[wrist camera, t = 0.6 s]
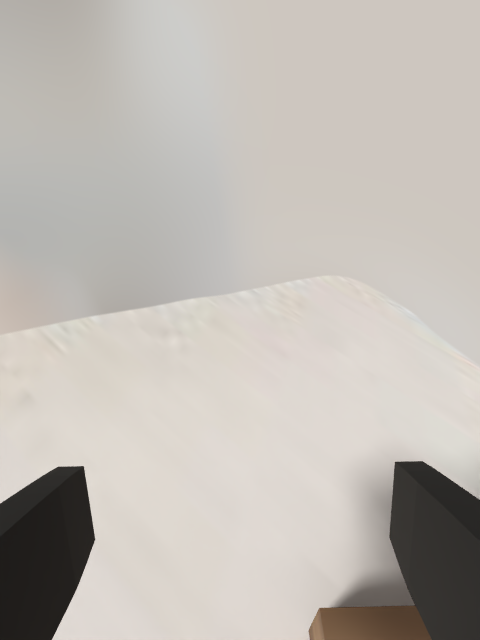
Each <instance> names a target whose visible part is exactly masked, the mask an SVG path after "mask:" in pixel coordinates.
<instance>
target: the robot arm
mask: <svg viewBox="0 0 480 640" xmlns="http://www.w3.org/2000/svg"><path fill="white" fill-rule="evenodd" d="M390 540H391V543H392V546H393V549H394V552H395V555H396V558H397V560H398V563H399V566H400V569H401V572H402V574H403V577H404V580H405V583H406V585H407V588H408V590H409V592H410V595H411V597H412V599H413V601H414V603H415V605H416V608H417V610H418V612H419V614H420V616H421V618H422V620H423V622H424V625H425V627H426V629H427V631H428V633H429V635H430V637H431V639H432V640H480V500H479V499H477V498H476V497H475V496H473V495H472V494H470V493H469V492H467V491H466V490H465V489H463V488H462V487H460V486H459V485H457V484H456V483H454V482H453V481H451V480H450V479H449V478H447V477H446V476H444V475H443V474H441V473H440V472H438V471H437V470H435V469H434V468H432V467H431V466H429V465H427V464H426V463H424V462H423V461H417V462H395V469H394V483H393V497H392V510H391V524H390ZM94 541H95V536H94V529H93V523H92V516H91V510H90V504H89V497H88V491H87V484H86V478H85V471H84V466H77V467H57V468H55V469H54V470H52V471H50V472H48V473H47V474H45V475H43V476H42V477H40V478H39V479H37V480H36V481H34V482H32V483H31V484H29V485H28V486H26V487H25V488H23V489H22V490H20V491H19V492H17V493H16V494H14V495H13V496H11V497H10V498H8V499H7V500H5V501H4V502H2V503H1V504H0V640H52V638H53V636H54V634H55V632H56V630H57V628H58V626H59V624H60V622H61V620H62V618H63V616H64V614H65V612H66V610H67V608H68V606H69V604H70V602H71V600H72V598H73V595H74V593H75V591H76V589H77V587H78V584H79V582H80V579H81V576H82V574H83V571H84V569H85V566H86V563H87V561H88V558H89V555H90V552H91V549H92V547H93V544H94Z"/></svg>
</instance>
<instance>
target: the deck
mask: <svg viewBox="0 0 480 640" xmlns="http://www.w3.org/2000/svg"><path fill="white" fill-rule="evenodd" d="M309 635H310V640H432V639H431V637H430V635H429V633H428V631H427V629H426V627H425V625H424V622H423V620H422V618H421V616H420V614H419V612H418V610H417V608H416V606H382V607H341V608H319V610H318V612H317V614H316V616H315V618H314V620H313V622H312V625H311V627H310V629H309Z"/></svg>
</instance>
